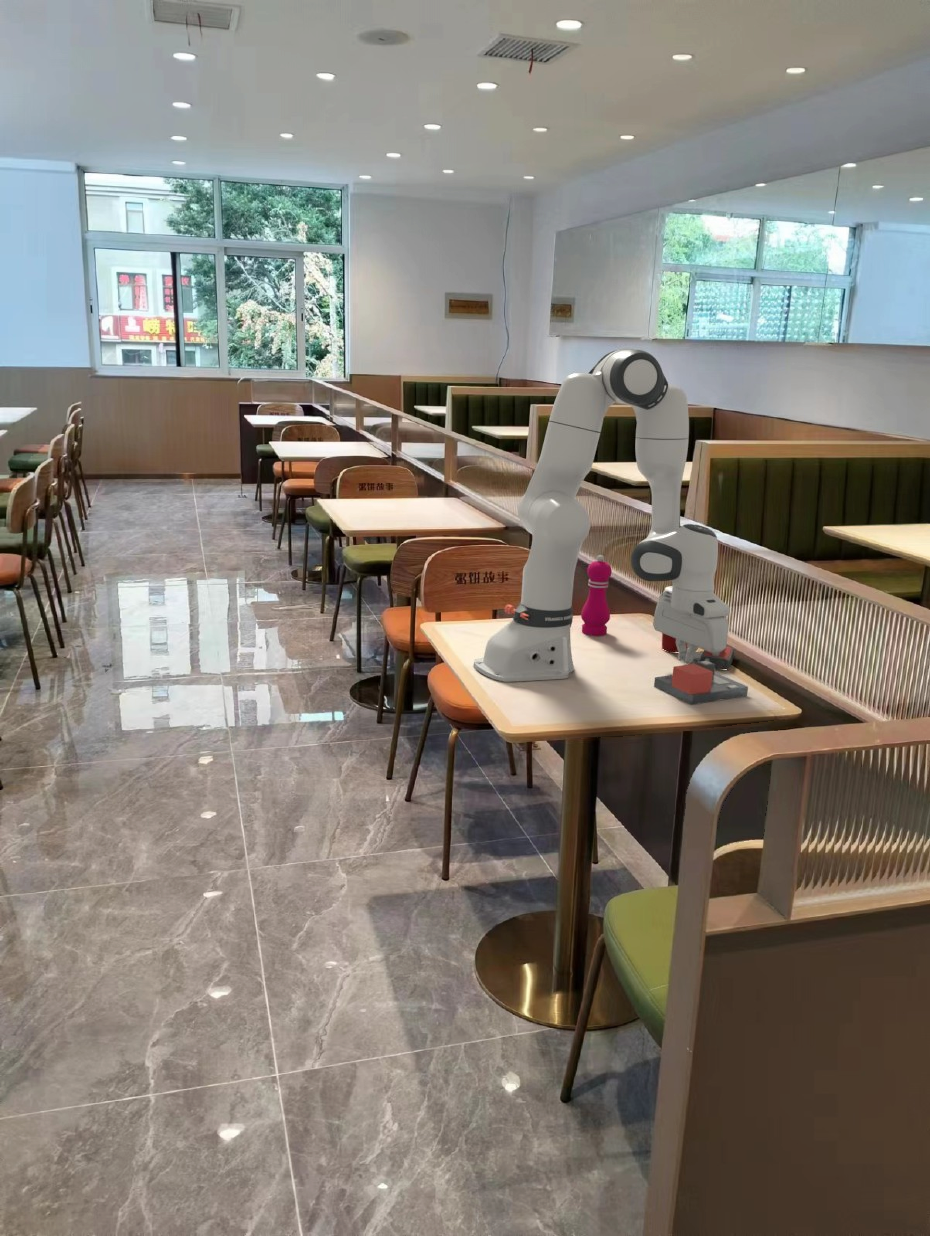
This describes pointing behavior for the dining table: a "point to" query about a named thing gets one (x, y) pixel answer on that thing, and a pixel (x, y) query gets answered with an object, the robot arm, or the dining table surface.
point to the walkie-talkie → (716, 657)
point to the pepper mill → (597, 599)
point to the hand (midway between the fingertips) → (685, 660)
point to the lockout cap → (692, 678)
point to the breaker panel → (719, 691)
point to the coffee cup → (667, 640)
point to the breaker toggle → (707, 665)
